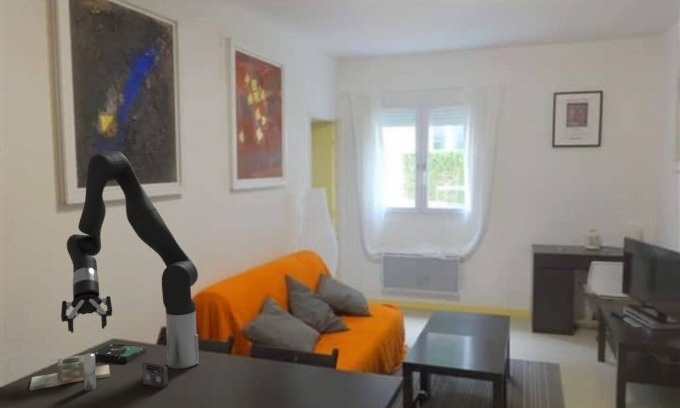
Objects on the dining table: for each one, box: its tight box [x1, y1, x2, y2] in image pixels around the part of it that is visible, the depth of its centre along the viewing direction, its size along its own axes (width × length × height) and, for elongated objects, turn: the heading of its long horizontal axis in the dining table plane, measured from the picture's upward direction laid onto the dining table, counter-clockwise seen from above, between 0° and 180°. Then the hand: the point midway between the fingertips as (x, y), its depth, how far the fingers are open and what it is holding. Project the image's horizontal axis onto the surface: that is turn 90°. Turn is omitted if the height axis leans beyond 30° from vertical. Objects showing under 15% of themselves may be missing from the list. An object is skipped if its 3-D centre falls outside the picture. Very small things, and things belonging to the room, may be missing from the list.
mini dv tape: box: [141, 362, 169, 389], centre depth 150 cm, size 8×2×6 cm, turn 65°
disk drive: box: [90, 343, 147, 364], centre depth 174 cm, size 10×3×15 cm
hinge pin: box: [82, 352, 97, 392], centre depth 147 cm, size 3×3×10 cm
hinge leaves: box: [29, 354, 111, 391], centre depth 155 cm, size 21×8×6 cm, turn 117°
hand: (87, 329), depth 156 cm, fingers open, 8 cm apart
